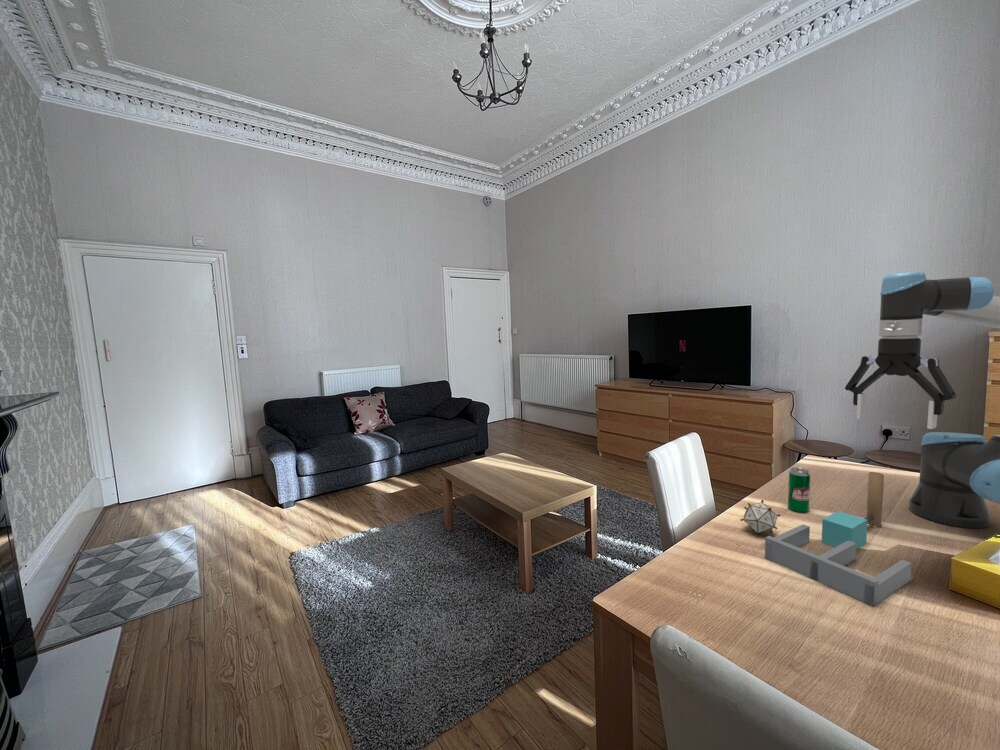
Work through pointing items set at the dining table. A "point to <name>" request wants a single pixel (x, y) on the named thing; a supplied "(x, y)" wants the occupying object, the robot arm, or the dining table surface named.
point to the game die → (760, 517)
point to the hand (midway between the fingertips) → (894, 422)
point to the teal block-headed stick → (852, 527)
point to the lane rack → (835, 567)
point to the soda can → (799, 489)
